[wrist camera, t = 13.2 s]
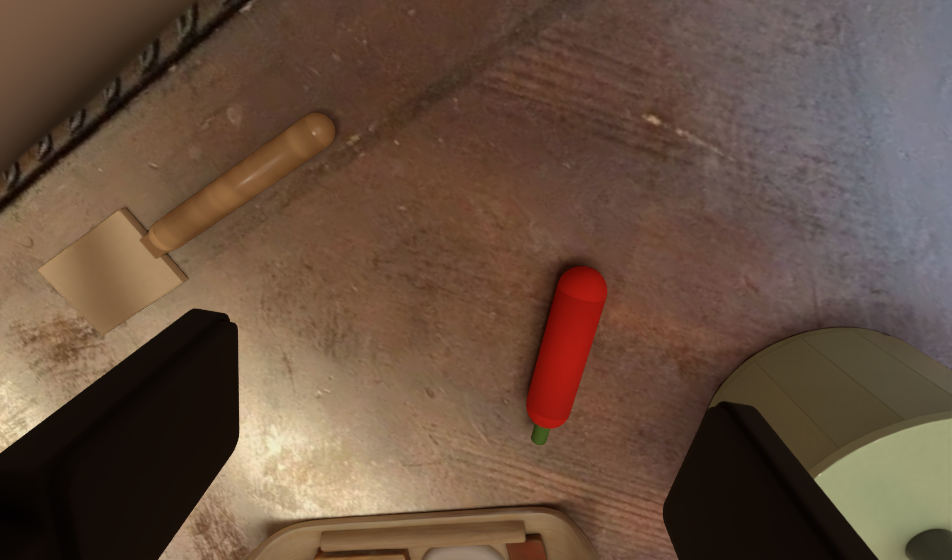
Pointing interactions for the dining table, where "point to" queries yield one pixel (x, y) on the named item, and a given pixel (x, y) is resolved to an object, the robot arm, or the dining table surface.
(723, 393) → the pot
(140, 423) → the robot arm
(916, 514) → the pot lid
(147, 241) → the spatula
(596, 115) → the dining table surface
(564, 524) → the toy food set
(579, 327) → the chili pepper
